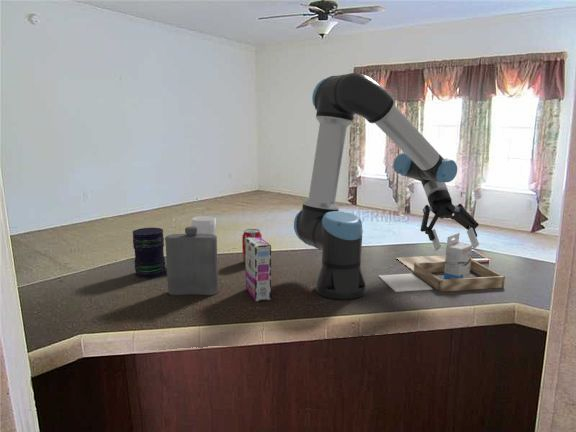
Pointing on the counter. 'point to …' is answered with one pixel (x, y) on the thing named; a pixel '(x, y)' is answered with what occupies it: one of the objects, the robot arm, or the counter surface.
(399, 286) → the mat
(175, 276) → the flask
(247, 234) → the soda can
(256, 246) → the candy bar box
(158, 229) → the storage jar
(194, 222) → the cup
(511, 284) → the counter surface
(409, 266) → the mailer box
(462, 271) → the ink box
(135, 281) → the counter surface
